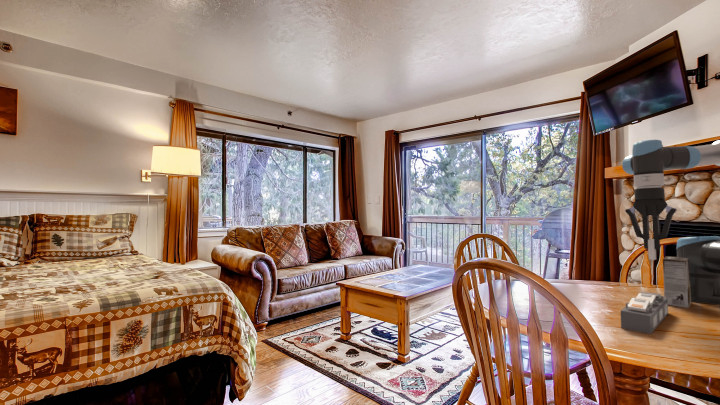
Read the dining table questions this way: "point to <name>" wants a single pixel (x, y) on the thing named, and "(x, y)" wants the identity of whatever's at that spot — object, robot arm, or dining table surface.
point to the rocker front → (638, 304)
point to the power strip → (645, 316)
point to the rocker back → (652, 294)
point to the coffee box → (677, 281)
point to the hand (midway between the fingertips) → (652, 259)
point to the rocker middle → (647, 297)
